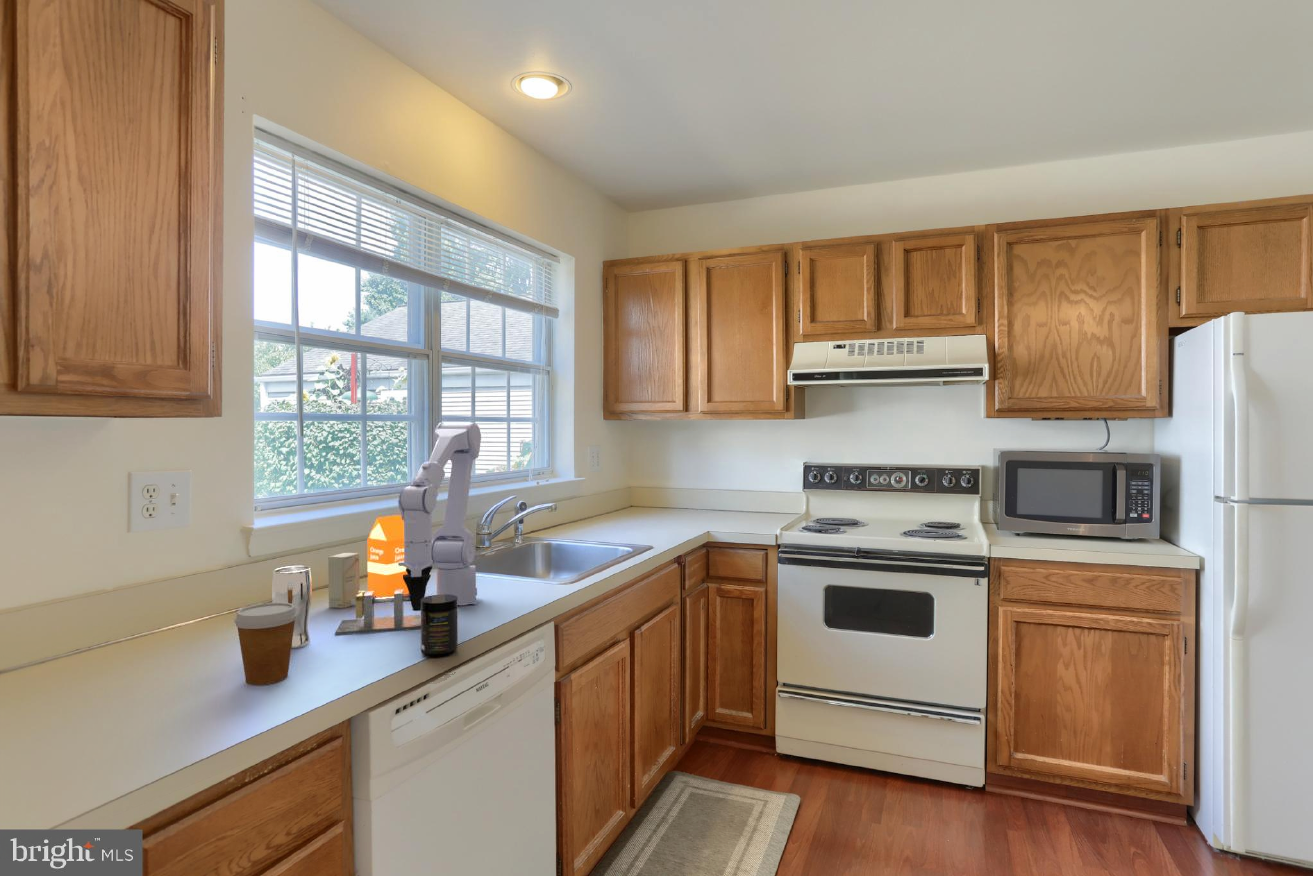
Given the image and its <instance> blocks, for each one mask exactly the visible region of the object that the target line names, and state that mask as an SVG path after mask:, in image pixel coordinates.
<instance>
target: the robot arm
mask: <svg viewBox="0 0 1313 876" xmlns="http://www.w3.org/2000/svg"><path fill="white" fill-rule="evenodd" d="M481 440H482V434H481V429H480V426H479V425H478V424H477V423H476V422H469V423H467V422H462V423H461V422H459V423H457V422H452V423H449V422H448V423H447V422H446V423H445V422H439V423H438V425H436V428H435V430H434V442H435V446H434V448H433V450H432V453H431V455H430V457H429V460H428V461H425V462H423V463H422V464H421V465H420V467H419V469H418V471H417V472H416V474H415V476H414V477H413V479H412V481H411V483H410V485H409V486H406V487H405V488H402V489H401V491H400V493H399V495H398V500H397V503H398V505H397V506H398V508H399V510H400V515H401V518H402V520H403V521H404V561H399V562H398V566H404V567H406V572H407V574H404V575H403V580H404V582H405V584H406V586H407V588H408V591H409V594H408V596H410V601H409V602H410V605H411V608H415V607H421V599H422V598H424V597H426V590H427V585H428V582H429V581H430V580H431V579H430V578H431V576H432V575H431V574H430V573H431V572H432V569H433V568H436V595H441V594H448V595H455V596H457V597H458V605H459V606H468V605H467V604H474V605H476V604H477V596H478V588H477V587H476V586H477V585H476V584H477V582H476V581H477V572H476V571H477V570H476V569H477V568H476V565H474V564H473V565H471V564H472V563H473V561H474V560H475V556H476V547H475V541H476V540H475V539H476V538H475V535H474V533H473V532H472V531H471V530H469V529H468V528H467V527H466V519H467V512H468V504H469V494H470V488H471V487H470V486H471V478H472V471H473V463H474V461H475V460H477V459H478V458H479V455H480V452H481V451H480V449H481ZM449 460H450V462H451V467H450V468H451V470H450V477H449V483H448V484H449V486H448V490H447V491H448V492H447V499H446V506H445V507H446V508H445V513H444V521H443V525H442V526H441V527H439V528H438V529H437V530H435V531H434V532H433V533H432V531H433V530H432V513H433V511H435V509H436V507H437V500H438V499H437V498H438V495H439V493H438V489H439V488H440V486H441V484H442V482H443V480H444V478H445V476H446V472H445V470H444V468H445V467H446V465H447V463H448V462H449Z"/></svg>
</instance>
